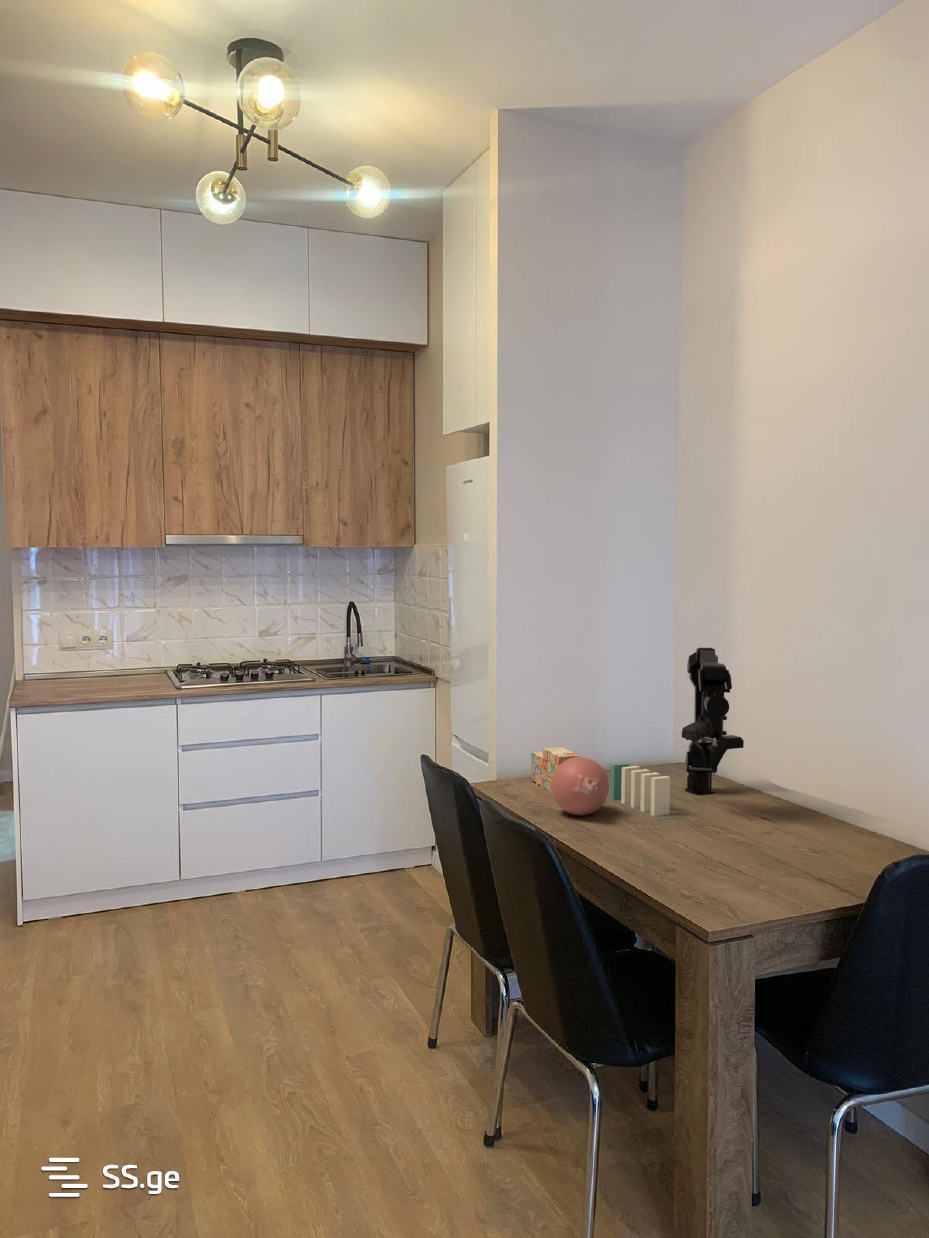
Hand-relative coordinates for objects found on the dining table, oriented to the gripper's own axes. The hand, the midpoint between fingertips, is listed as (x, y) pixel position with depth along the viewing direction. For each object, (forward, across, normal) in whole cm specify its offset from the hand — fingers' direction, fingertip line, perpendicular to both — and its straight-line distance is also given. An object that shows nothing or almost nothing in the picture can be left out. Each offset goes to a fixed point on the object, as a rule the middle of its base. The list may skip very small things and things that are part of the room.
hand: (711, 769), depth 250 cm
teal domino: (+12, -22, -14) cm, 28 cm away
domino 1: (+12, -17, -14) cm, 25 cm away
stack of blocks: (+12, -40, -25) cm, 49 cm away
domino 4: (+12, -4, -14) cm, 19 cm away
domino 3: (+12, -8, -14) cm, 20 cm away
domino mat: (+12, -12, -14) cm, 22 cm away
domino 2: (+12, -12, -14) cm, 22 cm away
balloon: (+12, -11, -34) cm, 38 cm away
